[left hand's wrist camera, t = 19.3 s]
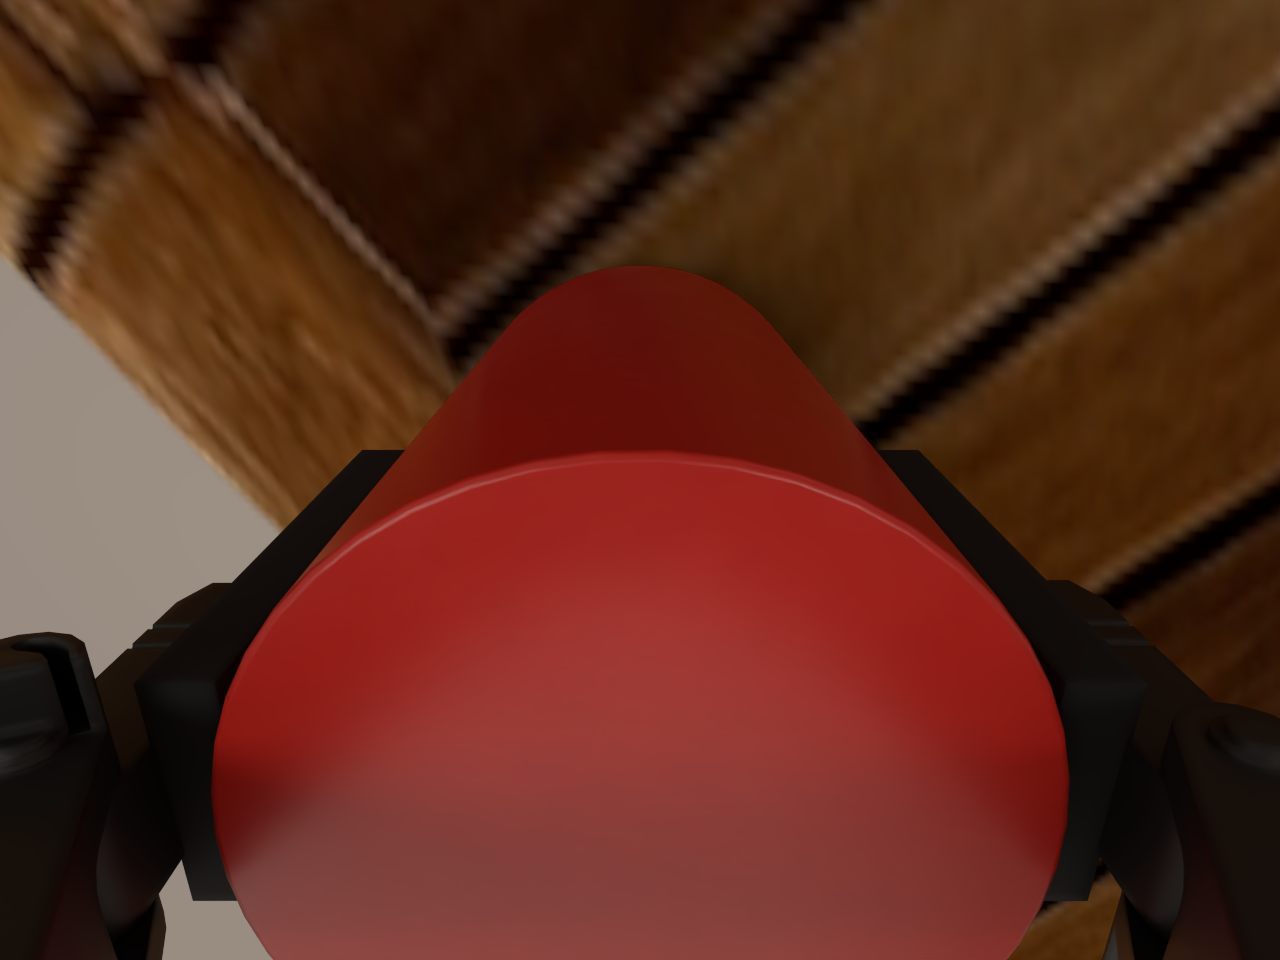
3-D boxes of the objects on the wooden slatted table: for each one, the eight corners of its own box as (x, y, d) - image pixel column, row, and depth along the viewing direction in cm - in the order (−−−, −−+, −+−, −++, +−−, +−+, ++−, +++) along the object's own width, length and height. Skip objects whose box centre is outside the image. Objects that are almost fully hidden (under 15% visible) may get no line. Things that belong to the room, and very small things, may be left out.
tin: (712, 628, 21) (802, 1195, 9) (425, 510, 19) (122, 994, 8) (870, 358, 18) (1264, 683, 7) (551, 201, 17) (366, 272, 5)
